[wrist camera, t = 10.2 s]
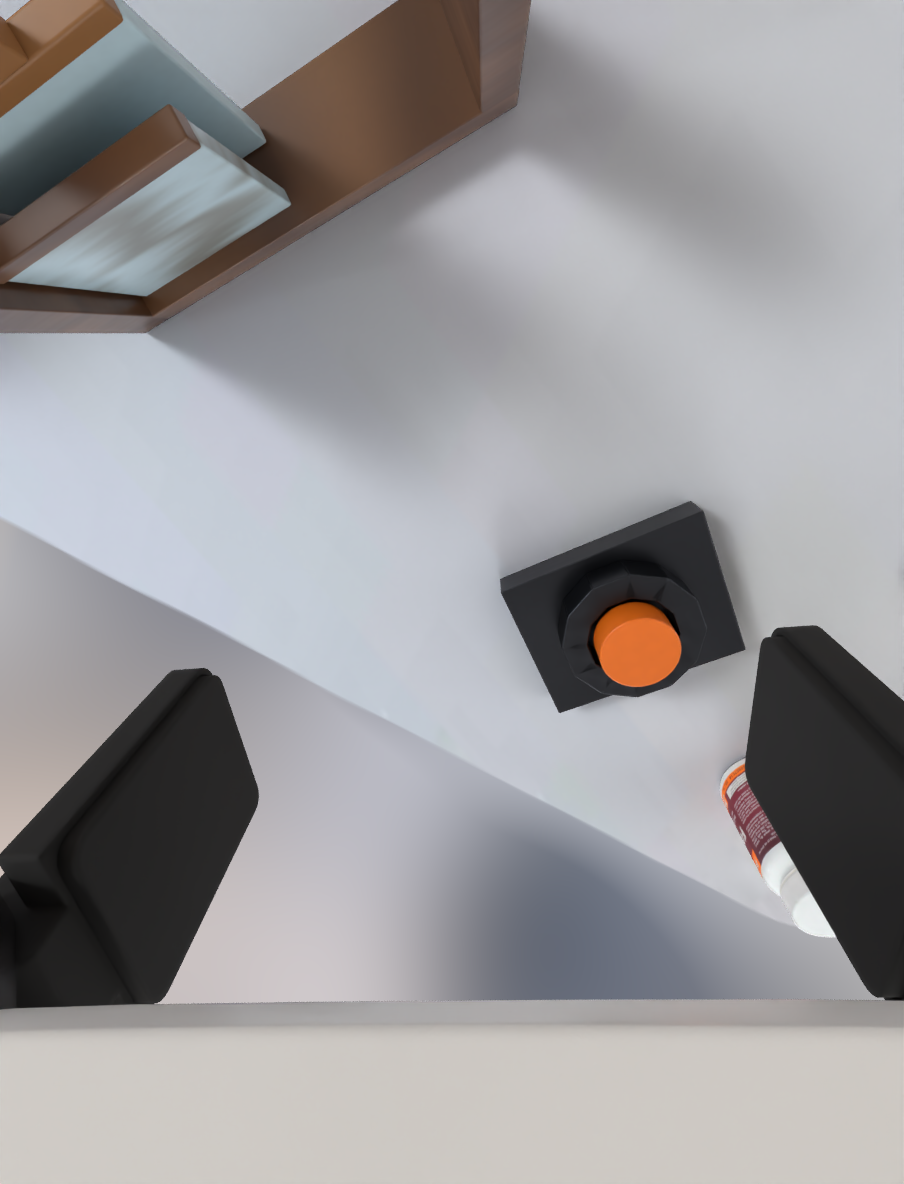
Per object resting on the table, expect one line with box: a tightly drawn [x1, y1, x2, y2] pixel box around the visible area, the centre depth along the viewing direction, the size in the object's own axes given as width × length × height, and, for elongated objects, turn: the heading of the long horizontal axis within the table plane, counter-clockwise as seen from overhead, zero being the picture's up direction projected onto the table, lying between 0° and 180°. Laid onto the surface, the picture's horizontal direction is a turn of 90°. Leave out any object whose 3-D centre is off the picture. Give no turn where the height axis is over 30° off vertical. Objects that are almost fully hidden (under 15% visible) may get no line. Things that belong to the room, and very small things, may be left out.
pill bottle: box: [720, 758, 836, 937], centre depth 30 cm, size 5×5×8 cm
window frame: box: [0, 0, 531, 333], centre depth 17 cm, size 18×4×12 cm, turn 116°
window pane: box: [0, 0, 266, 216], centre depth 15 cm, size 7×1×13 cm, turn 116°
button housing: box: [500, 501, 745, 713], centre depth 28 cm, size 10×8×4 cm
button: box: [593, 602, 681, 687], centre depth 26 cm, size 4×4×2 cm
